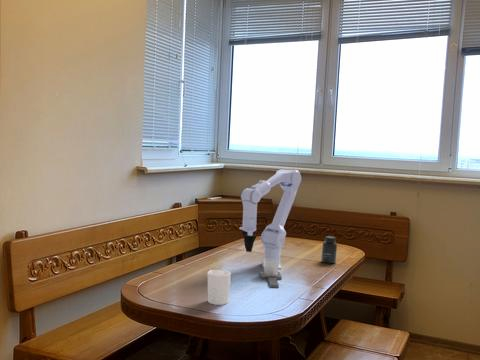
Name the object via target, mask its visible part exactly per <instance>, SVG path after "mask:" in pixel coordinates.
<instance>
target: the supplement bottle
mask: <svg viewBox="0 0 480 360" xmlns="http://www.w3.org/2000/svg"><path fill="white" fill-rule="evenodd" d="M321 247H322V248H321V259H320V260H321V263H323V262H324V264H327V263H334V264H336V262H337V255H338V253H337V250H338V244H337V242H336V236H331V235H328V236H325V237H324V242H322V245H321Z"/></svg>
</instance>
